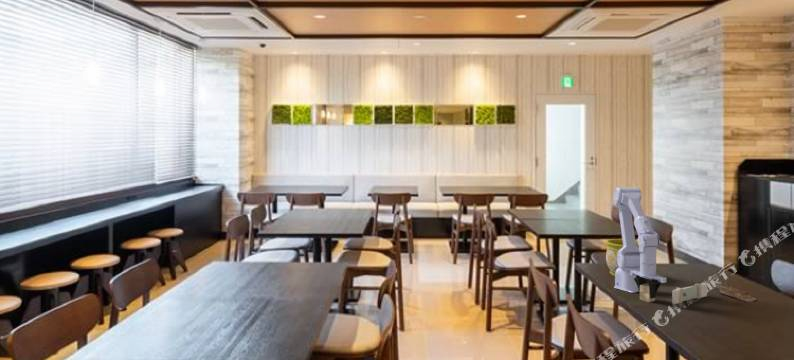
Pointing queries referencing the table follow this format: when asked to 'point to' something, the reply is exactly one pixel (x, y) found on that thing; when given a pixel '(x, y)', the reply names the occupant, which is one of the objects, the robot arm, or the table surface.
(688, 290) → the door
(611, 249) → the flowerpot
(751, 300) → the wooden fragment
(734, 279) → the table surface
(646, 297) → the block
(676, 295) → the wall frame
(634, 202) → the robot arm
